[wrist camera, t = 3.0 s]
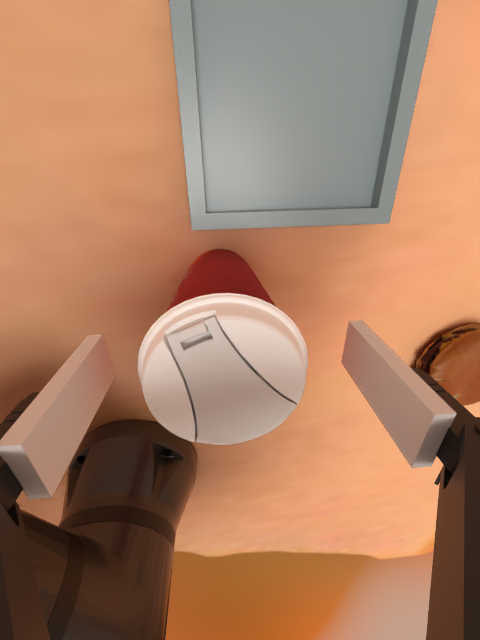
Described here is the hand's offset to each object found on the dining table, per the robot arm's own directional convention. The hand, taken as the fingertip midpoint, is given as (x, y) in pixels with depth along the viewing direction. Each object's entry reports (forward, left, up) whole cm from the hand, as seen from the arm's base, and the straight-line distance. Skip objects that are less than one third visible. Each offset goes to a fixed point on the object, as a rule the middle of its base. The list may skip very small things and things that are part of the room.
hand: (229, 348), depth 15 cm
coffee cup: (0, 0, -12) cm, 12 cm away
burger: (+26, -11, -12) cm, 31 cm away
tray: (+6, +13, -12) cm, 18 cm away
